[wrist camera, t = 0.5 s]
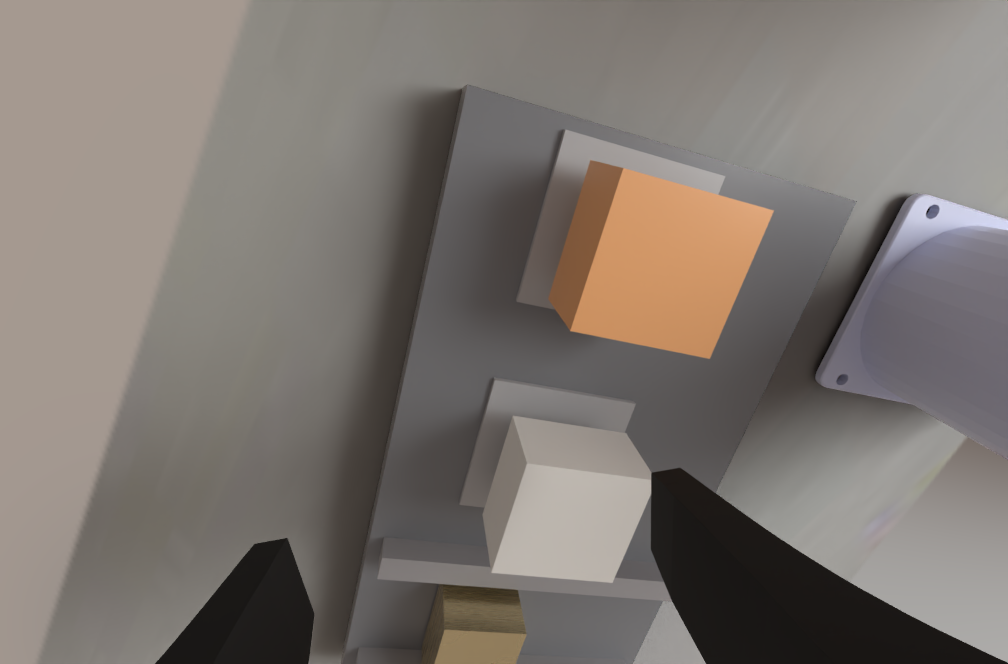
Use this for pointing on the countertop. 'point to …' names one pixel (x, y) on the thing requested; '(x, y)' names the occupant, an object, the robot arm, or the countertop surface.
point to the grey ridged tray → (557, 375)
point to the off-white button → (564, 501)
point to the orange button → (654, 260)
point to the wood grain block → (474, 626)
